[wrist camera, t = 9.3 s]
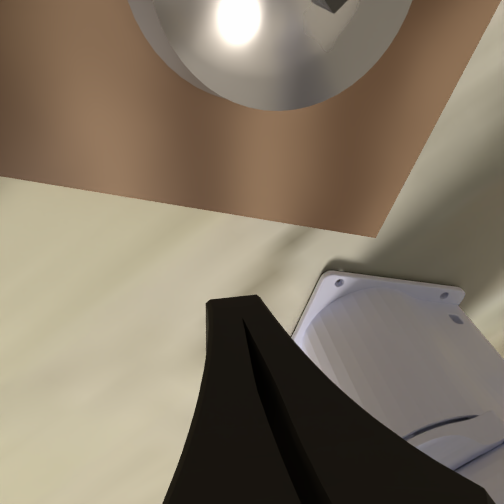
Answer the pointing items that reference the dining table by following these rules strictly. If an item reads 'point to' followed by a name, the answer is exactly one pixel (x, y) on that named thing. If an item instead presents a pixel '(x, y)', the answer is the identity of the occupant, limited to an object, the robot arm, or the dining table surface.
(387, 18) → the steel cap
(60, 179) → the post base
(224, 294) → the dining table surface
